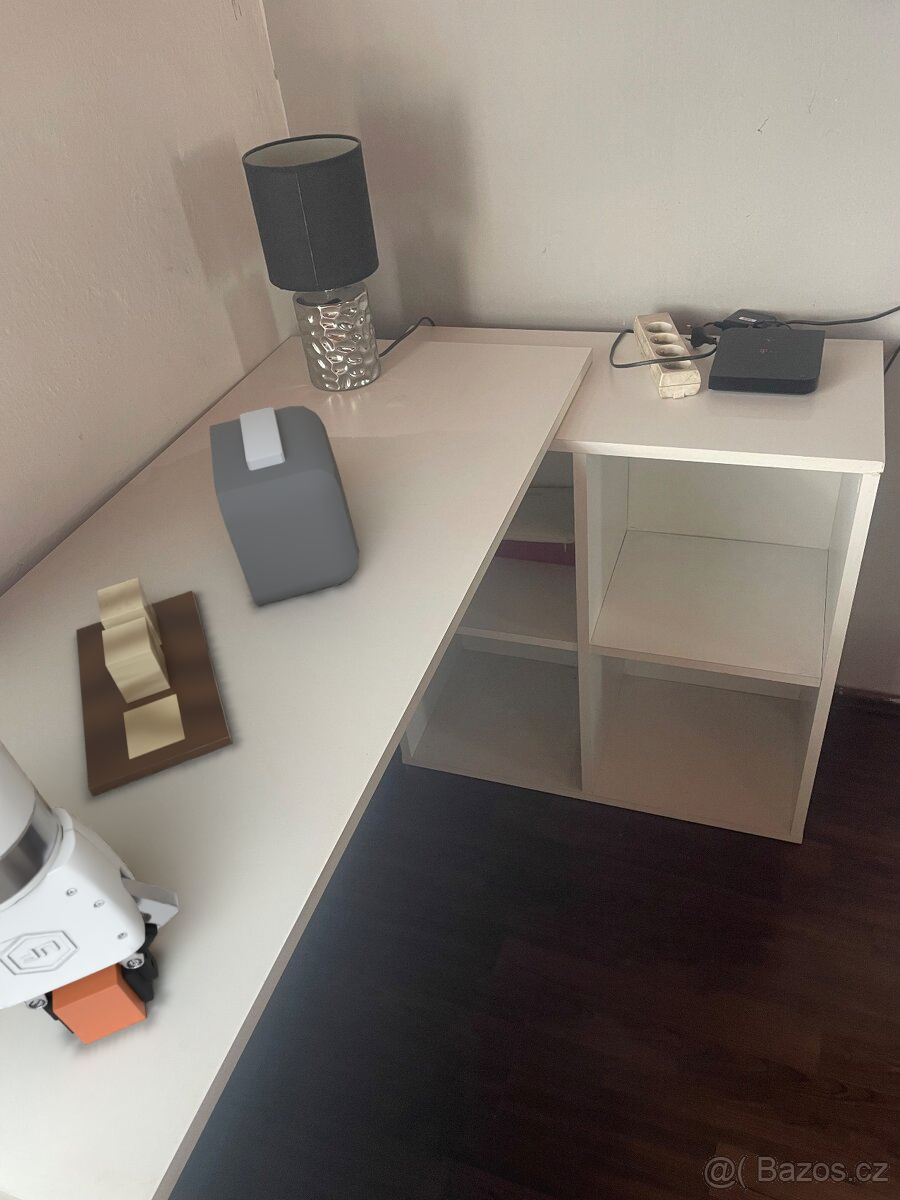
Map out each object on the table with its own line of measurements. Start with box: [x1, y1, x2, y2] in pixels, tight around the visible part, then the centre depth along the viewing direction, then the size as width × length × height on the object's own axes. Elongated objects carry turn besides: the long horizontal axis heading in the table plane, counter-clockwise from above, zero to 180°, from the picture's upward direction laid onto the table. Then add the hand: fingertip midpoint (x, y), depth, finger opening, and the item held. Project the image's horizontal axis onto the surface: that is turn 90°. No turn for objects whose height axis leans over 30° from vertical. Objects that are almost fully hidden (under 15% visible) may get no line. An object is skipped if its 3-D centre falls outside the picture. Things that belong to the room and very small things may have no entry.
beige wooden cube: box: [96, 576, 162, 645], centre depth 84 cm, size 5×4×5 cm
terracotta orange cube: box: [52, 962, 147, 1045], centre depth 57 cm, size 5×4×5 cm
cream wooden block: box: [102, 617, 170, 703], centre depth 79 cm, size 5×4×5 cm
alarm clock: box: [209, 405, 360, 607], centre depth 88 cm, size 16×11×16 cm
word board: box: [75, 590, 233, 797], centre depth 81 cm, size 22×12×1 cm, turn 21°
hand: (111, 995), depth 58 cm, fingers closed on terracotta orange cube, 4 cm apart
